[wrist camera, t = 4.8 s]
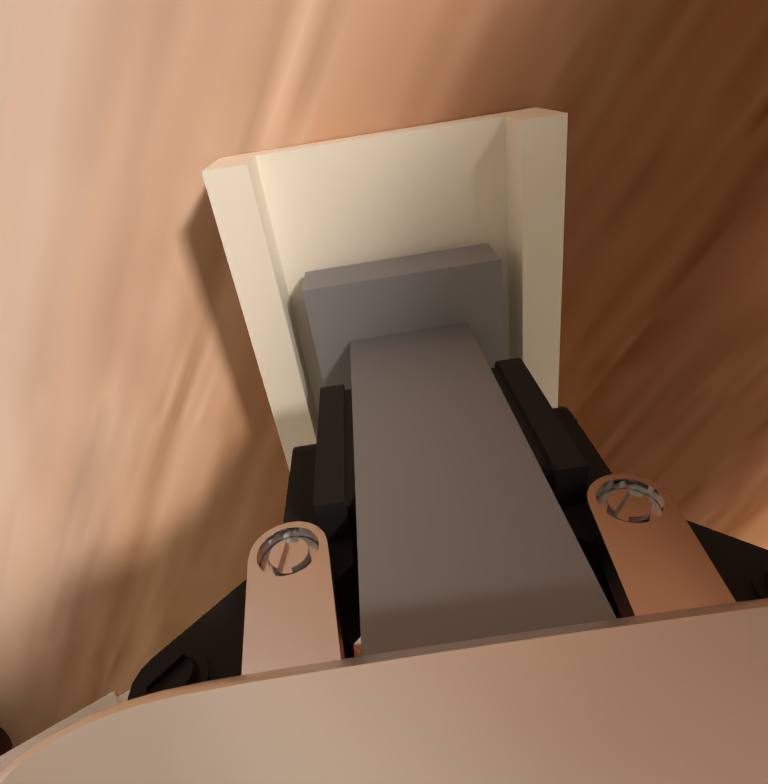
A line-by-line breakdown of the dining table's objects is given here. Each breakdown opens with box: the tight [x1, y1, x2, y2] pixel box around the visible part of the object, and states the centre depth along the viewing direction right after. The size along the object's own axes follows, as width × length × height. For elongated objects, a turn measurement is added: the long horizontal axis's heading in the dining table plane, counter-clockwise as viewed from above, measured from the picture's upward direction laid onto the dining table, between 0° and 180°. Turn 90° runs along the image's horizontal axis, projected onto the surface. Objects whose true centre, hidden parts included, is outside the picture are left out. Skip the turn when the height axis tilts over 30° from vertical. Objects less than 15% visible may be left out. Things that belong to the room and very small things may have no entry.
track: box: [202, 107, 568, 644], centre depth 17 cm, size 8×17×2 cm, turn 8°
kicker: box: [302, 243, 617, 656], centre depth 13 cm, size 5×12×10 cm, turn 8°
